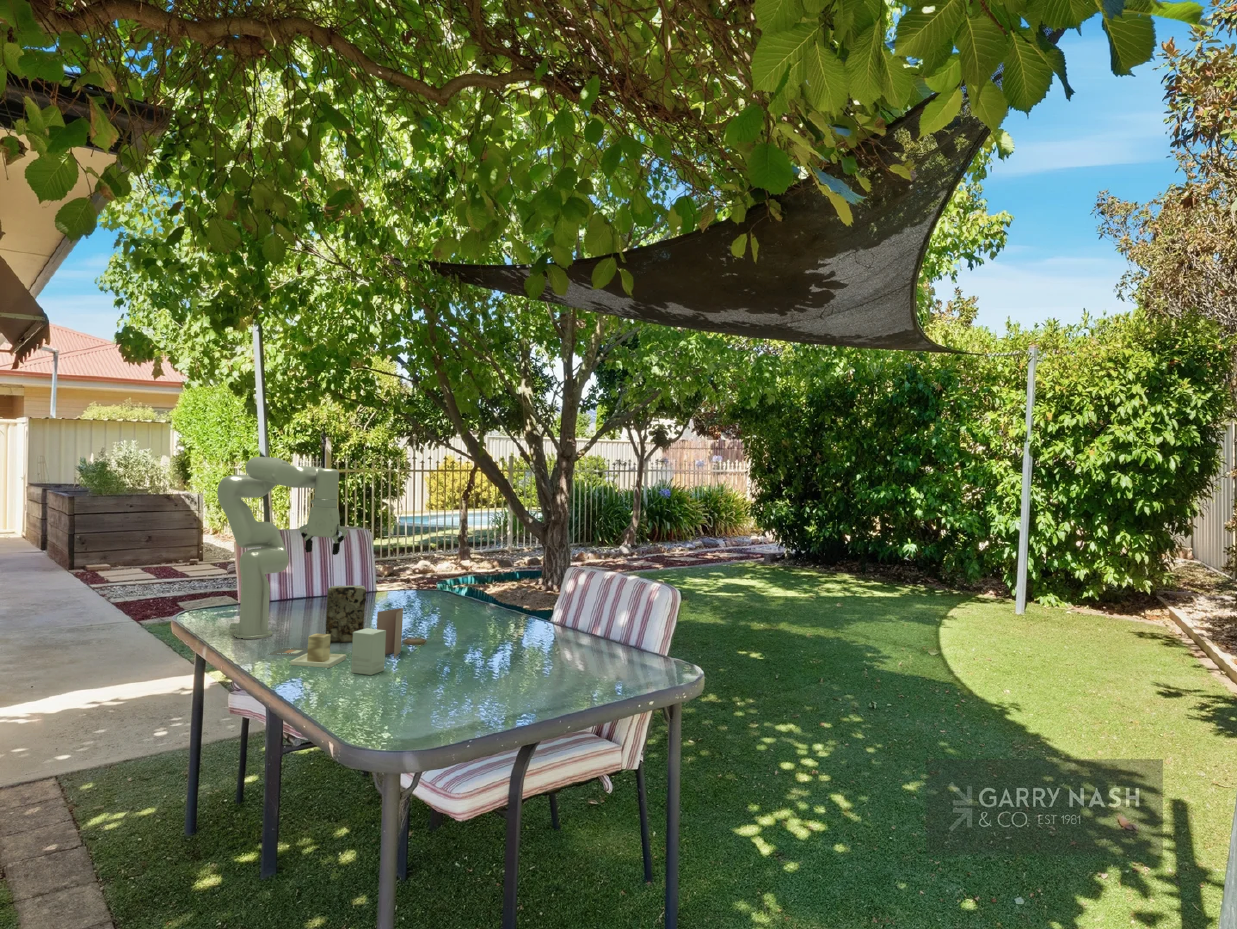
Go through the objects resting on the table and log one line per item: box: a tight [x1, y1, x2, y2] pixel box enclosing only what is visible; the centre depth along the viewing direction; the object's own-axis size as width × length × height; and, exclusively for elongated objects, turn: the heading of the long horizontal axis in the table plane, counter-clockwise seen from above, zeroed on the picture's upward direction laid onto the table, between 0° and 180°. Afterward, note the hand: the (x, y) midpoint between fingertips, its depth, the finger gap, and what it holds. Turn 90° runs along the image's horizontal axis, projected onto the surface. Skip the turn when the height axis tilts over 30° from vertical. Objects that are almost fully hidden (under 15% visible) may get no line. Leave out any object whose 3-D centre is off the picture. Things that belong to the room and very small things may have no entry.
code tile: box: [266, 646, 308, 658], centre depth 265 cm, size 12×12×1 cm
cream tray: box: [289, 653, 347, 669], centre depth 253 cm, size 13×13×2 cm
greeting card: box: [376, 607, 404, 659], centre depth 267 cm, size 11×7×15 cm, turn 149°
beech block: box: [307, 633, 331, 662], centre depth 253 cm, size 5×5×8 cm
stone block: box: [324, 584, 367, 644], centre depth 284 cm, size 13×7×20 cm, turn 118°
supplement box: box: [350, 627, 386, 676], centre depth 244 cm, size 7×7×13 cm
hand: (321, 553), depth 274 cm, fingers open, 9 cm apart
